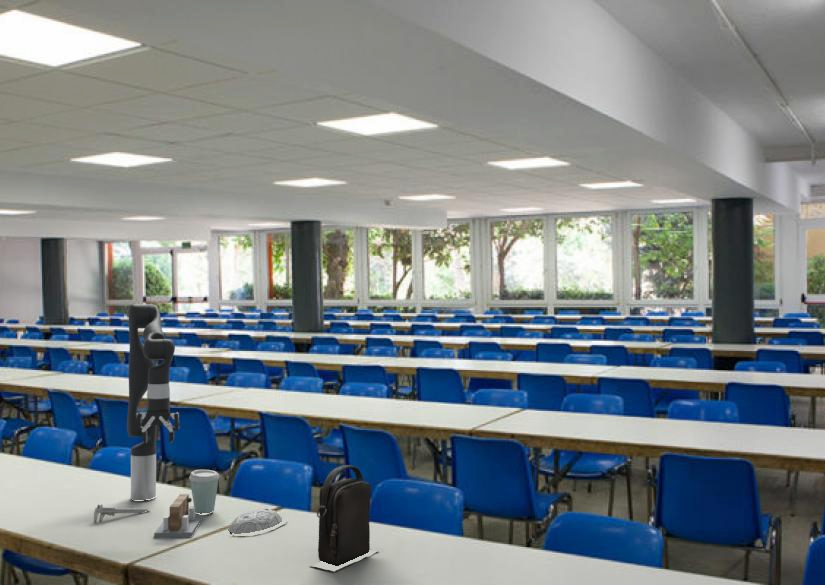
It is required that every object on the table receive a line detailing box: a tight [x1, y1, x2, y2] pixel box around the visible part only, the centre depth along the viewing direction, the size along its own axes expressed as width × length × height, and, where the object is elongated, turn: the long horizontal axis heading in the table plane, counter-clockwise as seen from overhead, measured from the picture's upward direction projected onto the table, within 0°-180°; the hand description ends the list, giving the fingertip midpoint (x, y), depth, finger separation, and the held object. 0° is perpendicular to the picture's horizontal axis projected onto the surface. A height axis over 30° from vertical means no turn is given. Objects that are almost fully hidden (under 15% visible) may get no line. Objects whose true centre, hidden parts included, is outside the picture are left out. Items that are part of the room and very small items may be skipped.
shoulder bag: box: [316, 464, 372, 566], centre depth 235 cm, size 23×9×28 cm, turn 146°
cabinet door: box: [169, 493, 193, 531], centre depth 265 cm, size 16×4×8 cm, turn 5°
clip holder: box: [153, 505, 204, 539], centre depth 265 cm, size 20×12×6 cm, turn 5°
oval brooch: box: [227, 507, 283, 534], centre depth 267 cm, size 16×25×7 cm, turn 146°
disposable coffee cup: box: [188, 469, 220, 514], centre depth 283 cm, size 11×11×15 cm
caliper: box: [93, 503, 149, 523], centre depth 278 cm, size 20×1×6 cm, turn 136°
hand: (158, 442), depth 274 cm, fingers open, 8 cm apart
